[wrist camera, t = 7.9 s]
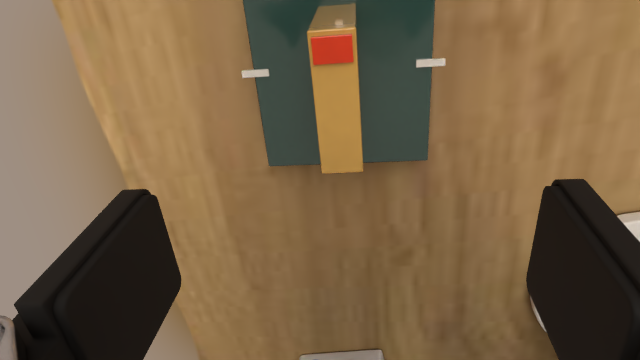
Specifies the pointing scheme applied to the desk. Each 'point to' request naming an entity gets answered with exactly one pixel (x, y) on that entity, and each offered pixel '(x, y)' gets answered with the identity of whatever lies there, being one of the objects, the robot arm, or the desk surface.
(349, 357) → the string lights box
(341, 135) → the tap handle
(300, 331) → the desk surface
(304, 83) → the block
